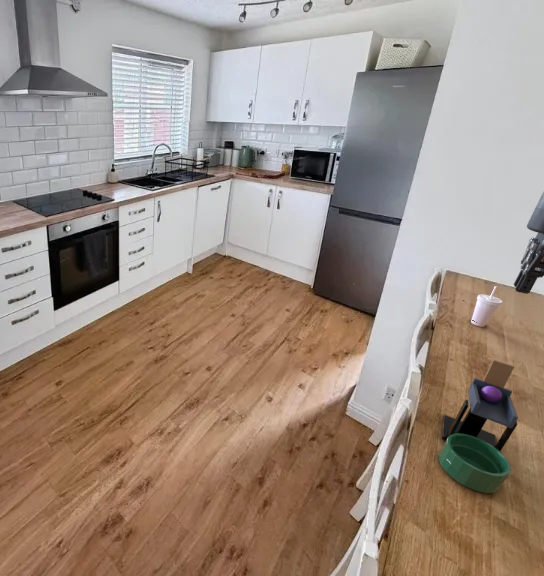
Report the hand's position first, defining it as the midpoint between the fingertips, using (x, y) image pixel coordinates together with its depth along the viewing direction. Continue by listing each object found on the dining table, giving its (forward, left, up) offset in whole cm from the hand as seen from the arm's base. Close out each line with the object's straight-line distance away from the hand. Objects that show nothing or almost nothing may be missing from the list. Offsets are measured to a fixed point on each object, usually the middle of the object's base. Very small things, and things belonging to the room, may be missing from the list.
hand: (520, 289), depth 78 cm
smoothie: (-42, -25, -29) cm, 57 cm away
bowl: (+22, +16, -29) cm, 40 cm away
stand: (+14, +10, -29) cm, 34 cm away
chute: (+15, +11, -19) cm, 27 cm away
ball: (+13, +9, -18) cm, 24 cm away
